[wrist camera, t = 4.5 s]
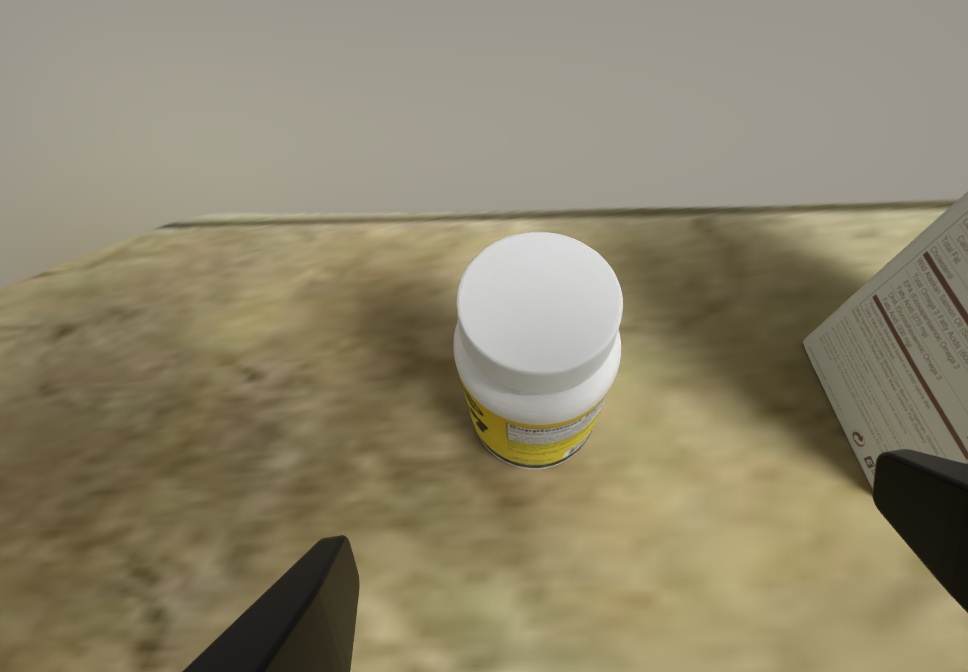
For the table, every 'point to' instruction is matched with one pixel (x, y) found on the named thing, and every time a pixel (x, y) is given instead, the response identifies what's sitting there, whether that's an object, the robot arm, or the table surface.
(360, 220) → the table surface
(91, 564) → the table surface
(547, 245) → the supplement bottle
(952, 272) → the supplement box
